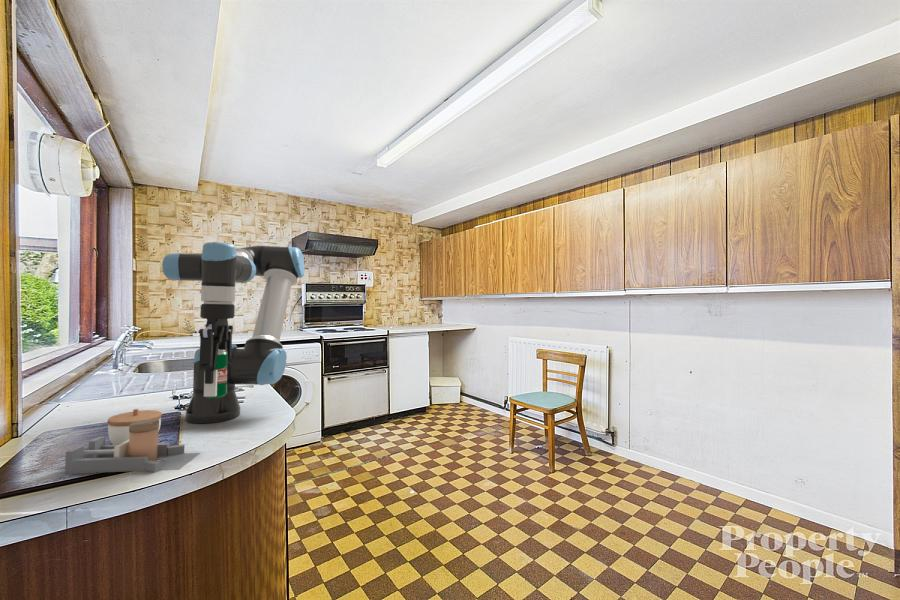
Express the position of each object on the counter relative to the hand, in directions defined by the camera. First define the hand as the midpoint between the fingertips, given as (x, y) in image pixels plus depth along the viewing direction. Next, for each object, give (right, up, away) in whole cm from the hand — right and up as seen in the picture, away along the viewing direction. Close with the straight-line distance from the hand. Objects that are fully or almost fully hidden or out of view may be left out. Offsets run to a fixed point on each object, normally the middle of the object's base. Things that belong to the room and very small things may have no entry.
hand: (215, 393), depth 98 cm
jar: (-10, -13, -11) cm, 20 cm away
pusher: (-18, -13, -12) cm, 25 cm away
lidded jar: (-21, -14, 0) cm, 25 cm away
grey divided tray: (-11, -14, -11) cm, 21 cm away
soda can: (0, -1, 0) cm, 1 cm away
